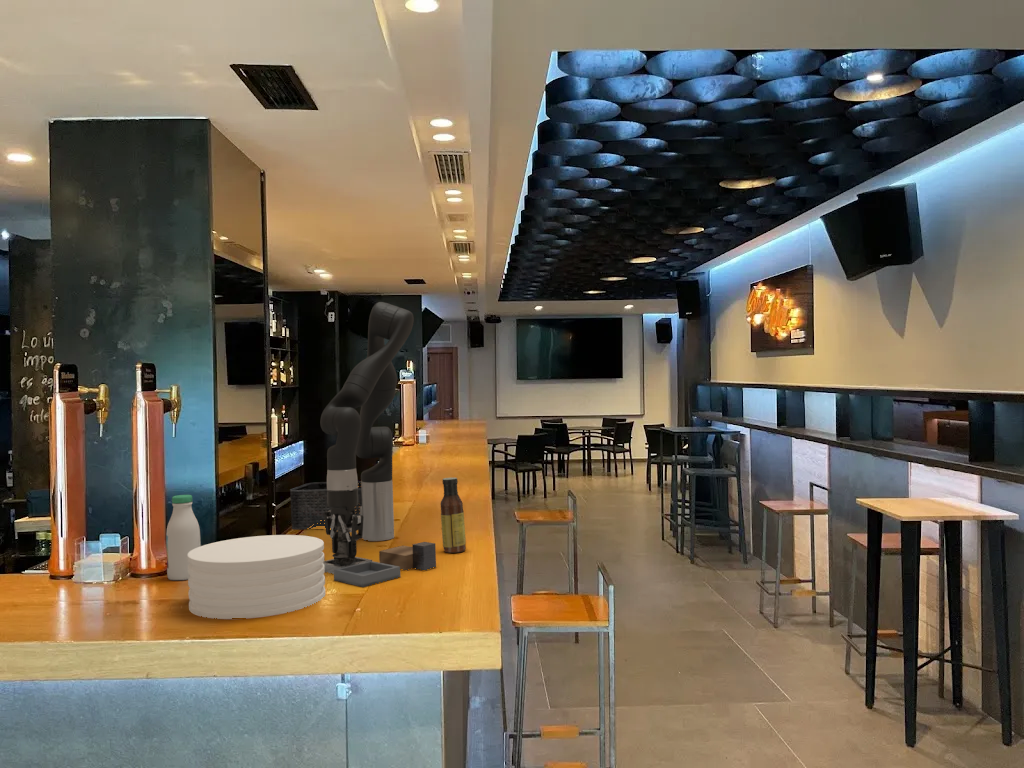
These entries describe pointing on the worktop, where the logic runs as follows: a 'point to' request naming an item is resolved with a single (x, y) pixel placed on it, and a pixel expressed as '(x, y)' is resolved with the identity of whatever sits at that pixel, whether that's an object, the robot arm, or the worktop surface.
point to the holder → (331, 566)
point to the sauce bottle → (452, 518)
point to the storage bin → (313, 505)
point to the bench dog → (424, 555)
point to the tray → (366, 573)
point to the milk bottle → (181, 537)
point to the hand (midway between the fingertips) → (344, 554)
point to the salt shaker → (342, 550)
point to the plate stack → (256, 576)
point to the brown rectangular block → (397, 557)
